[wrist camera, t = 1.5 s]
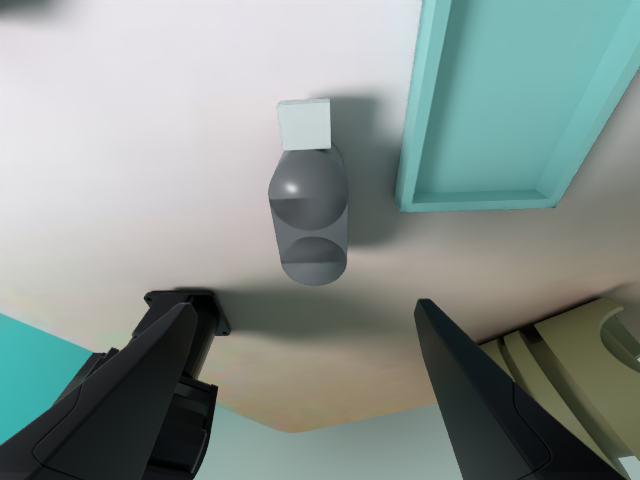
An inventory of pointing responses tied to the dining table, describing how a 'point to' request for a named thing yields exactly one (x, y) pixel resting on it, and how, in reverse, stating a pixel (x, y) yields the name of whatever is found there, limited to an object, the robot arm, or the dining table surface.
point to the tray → (510, 99)
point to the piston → (582, 376)
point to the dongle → (309, 195)
